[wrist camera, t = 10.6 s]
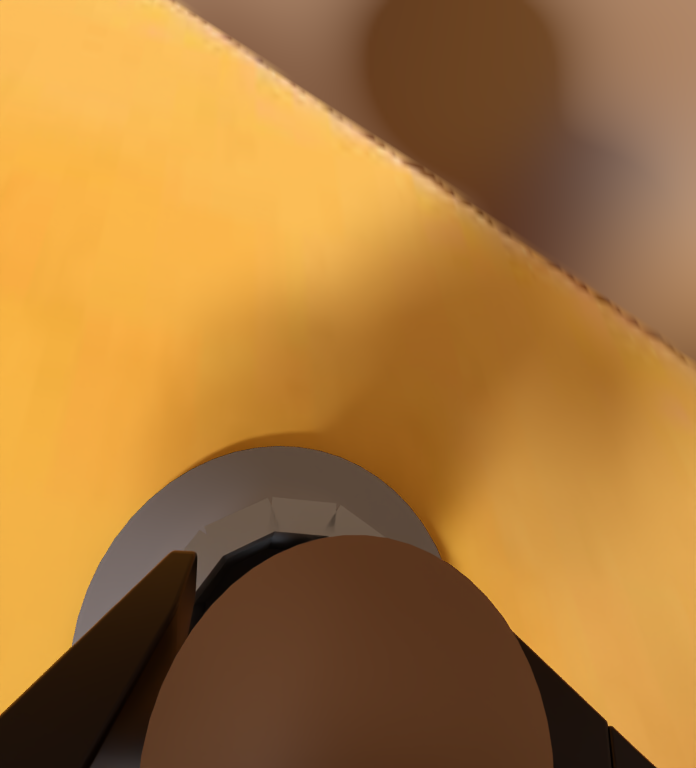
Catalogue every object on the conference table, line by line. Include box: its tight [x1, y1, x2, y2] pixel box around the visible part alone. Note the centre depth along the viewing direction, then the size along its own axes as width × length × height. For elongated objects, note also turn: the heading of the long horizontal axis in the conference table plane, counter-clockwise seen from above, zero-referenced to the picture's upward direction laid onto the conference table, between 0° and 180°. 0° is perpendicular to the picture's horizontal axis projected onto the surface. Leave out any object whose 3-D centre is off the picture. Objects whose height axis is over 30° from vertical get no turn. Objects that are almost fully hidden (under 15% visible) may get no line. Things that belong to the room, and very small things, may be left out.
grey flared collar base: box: [72, 446, 441, 646], centre depth 13 cm, size 12×12×6 cm
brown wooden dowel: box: [140, 535, 553, 768], centre depth 9 cm, size 3×3×12 cm
